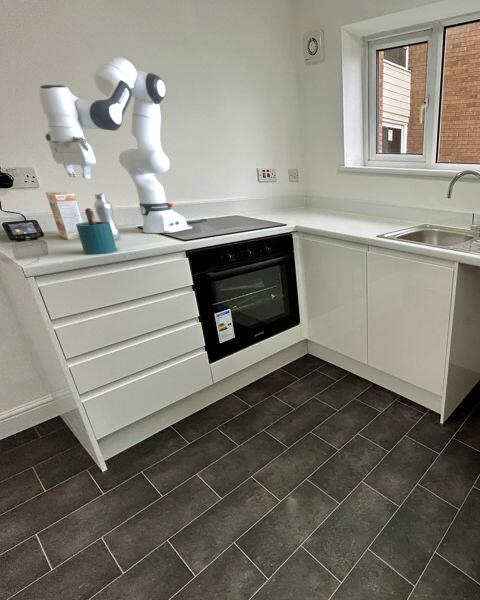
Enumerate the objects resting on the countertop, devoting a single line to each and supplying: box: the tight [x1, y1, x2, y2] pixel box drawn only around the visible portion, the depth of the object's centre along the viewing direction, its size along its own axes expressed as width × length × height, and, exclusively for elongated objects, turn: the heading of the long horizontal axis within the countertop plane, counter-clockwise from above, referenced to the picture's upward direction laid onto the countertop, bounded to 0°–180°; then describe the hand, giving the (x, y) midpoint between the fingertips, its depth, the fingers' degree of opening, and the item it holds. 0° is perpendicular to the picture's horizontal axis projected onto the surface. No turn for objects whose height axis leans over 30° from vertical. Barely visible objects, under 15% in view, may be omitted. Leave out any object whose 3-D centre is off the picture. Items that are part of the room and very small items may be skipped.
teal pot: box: [76, 221, 118, 255], centre depth 137 cm, size 10×10×11 cm
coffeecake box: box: [45, 191, 84, 241], centre depth 159 cm, size 15×7×20 cm, turn 53°
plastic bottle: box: [93, 193, 121, 241], centre depth 155 cm, size 6×7×20 cm
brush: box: [84, 207, 97, 225], centre depth 136 cm, size 4×4×16 cm
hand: (80, 177), depth 129 cm, fingers open, 8 cm apart
